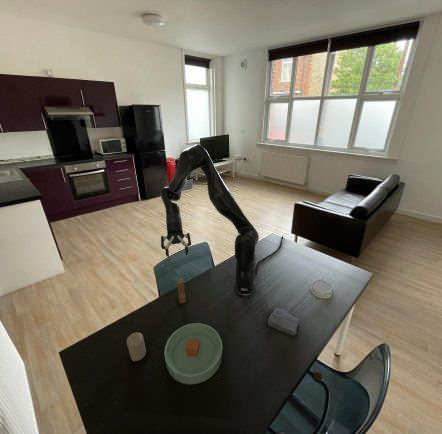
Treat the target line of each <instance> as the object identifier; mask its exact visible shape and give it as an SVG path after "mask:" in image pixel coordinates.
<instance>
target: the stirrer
mask: <svg viewBox="0 0 442 434" xmlns="http://www.w3.org/2000/svg"><path fill="white" fill-rule="evenodd" d="M176 286H177V293H178V295H177V296H178V303H179V305H181V304H186V303H187V299H186V288H185V280H184V277H181V278H177V279H176Z"/></svg>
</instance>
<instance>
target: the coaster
mask: <svg viewBox="0 0 442 434" xmlns="http://www.w3.org/2000/svg"><path fill="white" fill-rule="evenodd" d="M310 292H311V294H313V295H314V296H315V297H317V298H319V299H322V300H323V299H325V300H327V299H330V298H331V297H332V296H333V294H334V287H333V285H332V284H331V283H329V282H328V281H326V280H323V279H315V280H314V281H312V282H311V283H310Z"/></svg>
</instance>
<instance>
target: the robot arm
mask: <svg viewBox="0 0 442 434" xmlns="http://www.w3.org/2000/svg"><path fill="white" fill-rule="evenodd" d="M199 169H201V171H202V173H203V175H204V177H205V180H206V183H207V185H206V186H207V192H208V199H209V201H210V202H211V204H212V205H213V207H214V209H215V211H217V213H219V214H220V215H221V216H222V217H224V218H225V219H227V220H228V221H230V222H231V224H232V225H233V227H234V228H235V229H236V231H237V233H238V234H237V235H236V237H235V238H234V257H235V284H234V285H235V286H234V290H235V293H236V294H237V295H239V296H241V297H249V296H251V295H253V294H254V292H255V280H256V275H257V274H258V266H259V264H261V263H262V262H264V261H266V260H268V259H269V258H270V257H272V256H273V255H275V254H276V253H278V251H279V250H280V249H281V247H282V243H283V240H284V235H282V236H281V239H280V243H279V246H278V248H277V249H276V250H274V252H272V253H271V254H269V255H267V256H265V257H264V258H262V259H261V260H259V261H258V262H257V256H256V247H257V244H258V242H259V240H260V235H259V232H258V231H257V230H256V229H257V228H255V226H254V225H253V224H252V223H251V222H250V220H249V219H248V218H247V217H246V215H245V213H244V212H243V210H242V209H241V207H240V205H239V204H238V202H237V201H236V199H235V197H234V196H233V194H232V192H231V191H230V190H229V188H228V187H227V185H226V183H225V182H224V180H223V178H222V177H221V176H220V174H219V172H218V169H217V168H216V165H215V164H214V162H213V160H212V158H211V156H210V154H209V153H208V151H207V149H205V147H204V146H203V145H201V144H198V143H197V144H194V145H192V146H190V147H187V148H185V149H184V150H182V151H181V153H180V155H179V157H178V160H177V164H176V168H175V171H174V174H173V176H172V178H171V179H170V181H169V183H168V186H163V187H162V188H161V189H160V193H159V194H160V199H161V201H162V203H163V206H164V210H165V225H166V236H163V235H161V236H160V248H161V250H165V256H166V257H167V258H170V251H169V248H170V247H171V246H172V245H179V244H181V245H183V247H184V252H185V253H184V254H185V256H188V254H189V247H191V246H192V240H191V233H189V232H187V233H184V230H183V222H182V216H181V210H180V204H178V203H176V202H178V201H180V200H181V198H182V192H183V190H184V188H185V187H186V185H187V184H188V176H189V175H190V174H192V173H193V172H194V171H195V172H196V171H197V170H199ZM184 239H187V242H186V241H185V240H184ZM166 240H167V241H168V242H167V243H166V245H165V242H166ZM256 262H257V263H256Z"/></svg>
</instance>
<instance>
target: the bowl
mask: <svg viewBox="0 0 442 434" xmlns="http://www.w3.org/2000/svg"><path fill="white" fill-rule="evenodd" d="M188 339H199V344H200V347H199V353H198V357H196V356H187V351H186V348H187V343H188ZM163 355H164V361H165V367H166V370H167V371H168V374H169V376H171V377H172V378H173V380H175V381H177V382H178V383H181V384H183V385H198V384H201V383H203V382H206V381H207V380H208V379H211V377H213V376H214V375H215V374H216V372H217V371H218V370H219V368H220V366H221V364H222V360H223V340H222V338H221V335H220V334H219V333H218V331H217V330H216V329H214V328H213V327H212V326H210V325H208V324H205V323H199V322H195V323H194V322H193V323H188V324H185V325H182V326H181V327H179V328H177V329H176V330H175V331H174V332H173V333H172V334H171V335H170V336H169V337H168V338H167V341H166V344H165V345H164V352H163Z"/></svg>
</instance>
